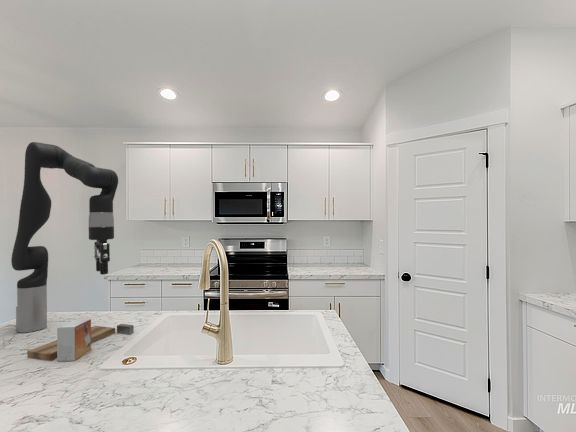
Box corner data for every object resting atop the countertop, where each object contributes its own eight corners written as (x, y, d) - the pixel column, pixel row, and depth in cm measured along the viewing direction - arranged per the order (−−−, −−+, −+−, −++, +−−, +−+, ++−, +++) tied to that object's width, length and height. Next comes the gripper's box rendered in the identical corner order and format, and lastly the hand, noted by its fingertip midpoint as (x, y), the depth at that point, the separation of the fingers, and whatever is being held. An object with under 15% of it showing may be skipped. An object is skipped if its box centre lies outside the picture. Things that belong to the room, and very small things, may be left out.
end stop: (116, 333, 117) (116, 325, 117) (121, 331, 119) (121, 323, 119) (129, 334, 115) (129, 326, 115) (133, 332, 117) (133, 325, 117)
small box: (74, 361, 94) (74, 327, 94) (56, 361, 94) (56, 327, 94) (91, 350, 102) (91, 318, 102) (75, 350, 102) (75, 318, 102)
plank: (27, 357, 97) (27, 350, 97) (95, 330, 120) (95, 325, 120) (50, 361, 94) (50, 354, 94) (115, 333, 117) (115, 327, 117)
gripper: (85, 225, 109) (86, 271, 108) (91, 226, 98) (92, 276, 98) (110, 225, 113) (110, 269, 113) (118, 225, 102) (118, 273, 102)
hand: (101, 272), depth 105 cm, fingers open, 8 cm apart
